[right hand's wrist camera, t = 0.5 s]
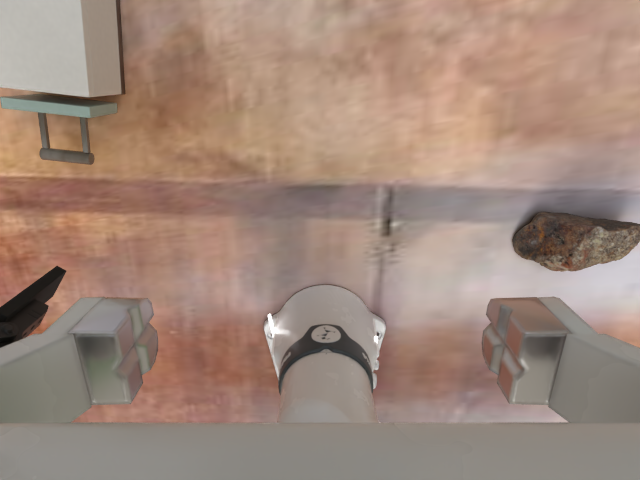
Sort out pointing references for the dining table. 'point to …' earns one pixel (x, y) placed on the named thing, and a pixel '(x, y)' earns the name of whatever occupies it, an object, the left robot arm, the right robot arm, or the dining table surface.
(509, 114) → the dining table surface
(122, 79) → the white open box
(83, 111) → the drawer
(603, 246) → the rock
